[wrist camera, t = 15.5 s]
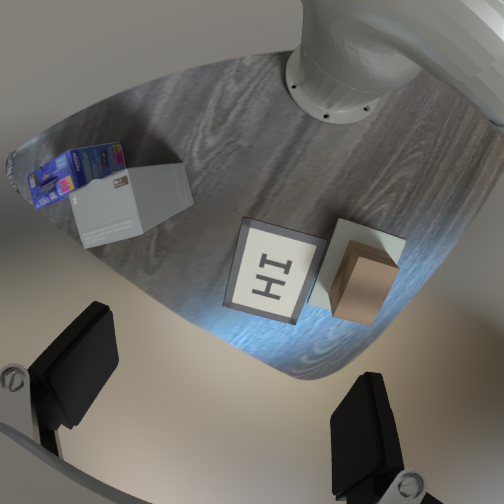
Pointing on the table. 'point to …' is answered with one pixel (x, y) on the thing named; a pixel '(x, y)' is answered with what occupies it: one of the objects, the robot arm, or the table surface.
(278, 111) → the table surface
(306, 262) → the grey framed panel
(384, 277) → the walnut block
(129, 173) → the skincare box
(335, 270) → the sage mat
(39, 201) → the ink cartridge box
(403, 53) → the robot arm
